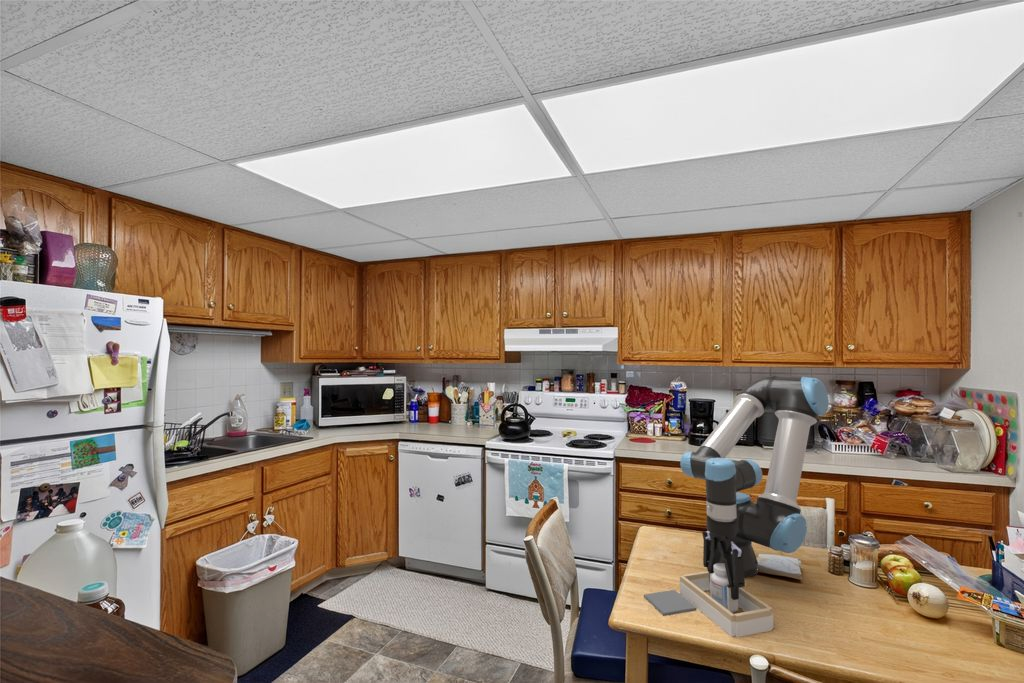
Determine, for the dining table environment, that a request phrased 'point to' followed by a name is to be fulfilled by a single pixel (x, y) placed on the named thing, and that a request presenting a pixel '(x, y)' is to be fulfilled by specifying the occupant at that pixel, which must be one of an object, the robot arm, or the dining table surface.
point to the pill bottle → (720, 584)
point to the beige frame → (739, 624)
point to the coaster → (669, 602)
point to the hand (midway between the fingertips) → (723, 603)
